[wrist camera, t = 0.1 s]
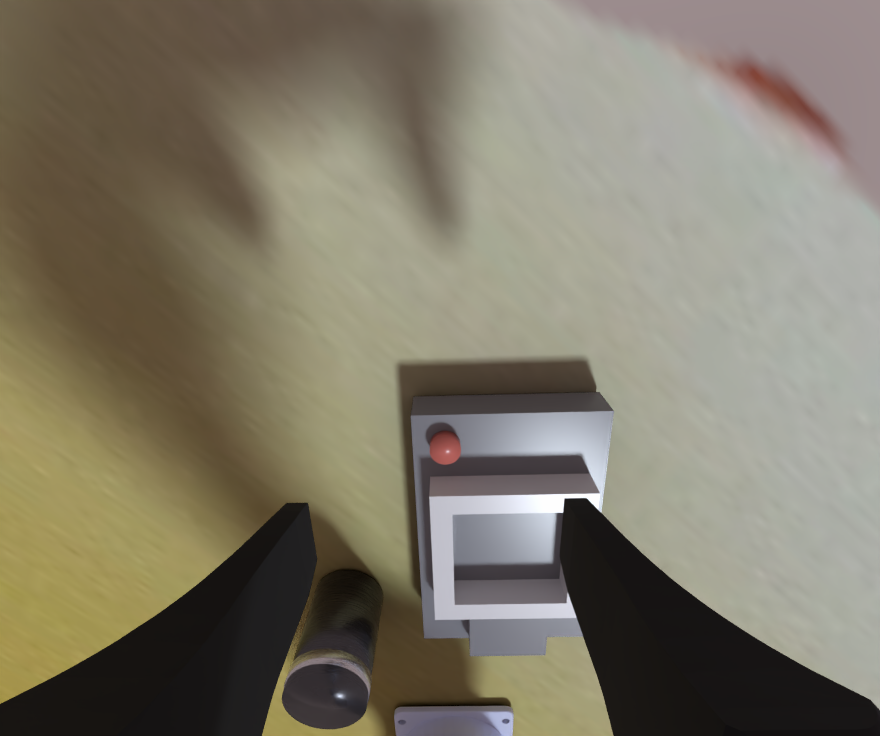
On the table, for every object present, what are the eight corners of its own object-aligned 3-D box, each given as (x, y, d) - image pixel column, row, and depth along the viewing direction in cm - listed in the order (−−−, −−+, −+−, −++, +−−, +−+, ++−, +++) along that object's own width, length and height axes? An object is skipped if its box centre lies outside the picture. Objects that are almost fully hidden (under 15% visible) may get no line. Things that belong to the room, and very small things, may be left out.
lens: (386, 620, 28) (371, 729, 22) (319, 621, 28) (287, 730, 22) (381, 568, 26) (363, 672, 21) (310, 570, 26) (274, 673, 21)
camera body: (576, 605, 27) (594, 662, 24) (425, 607, 27) (422, 664, 24) (599, 392, 22) (626, 427, 19) (413, 396, 22) (408, 432, 19)
